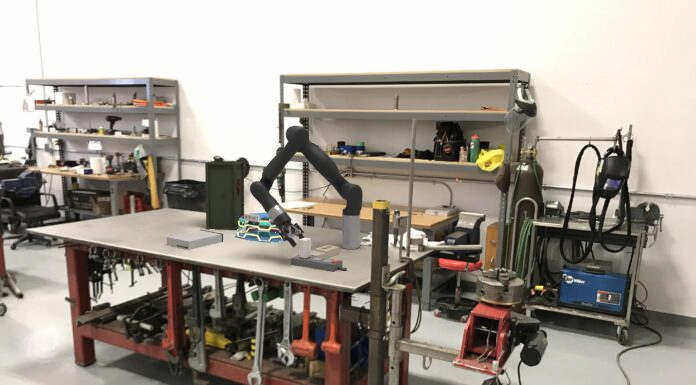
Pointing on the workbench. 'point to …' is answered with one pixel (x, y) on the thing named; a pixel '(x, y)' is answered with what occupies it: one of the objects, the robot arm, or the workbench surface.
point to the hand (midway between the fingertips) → (300, 244)
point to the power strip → (318, 263)
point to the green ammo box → (224, 194)
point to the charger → (304, 248)
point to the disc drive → (194, 239)
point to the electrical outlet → (325, 251)
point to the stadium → (258, 228)
